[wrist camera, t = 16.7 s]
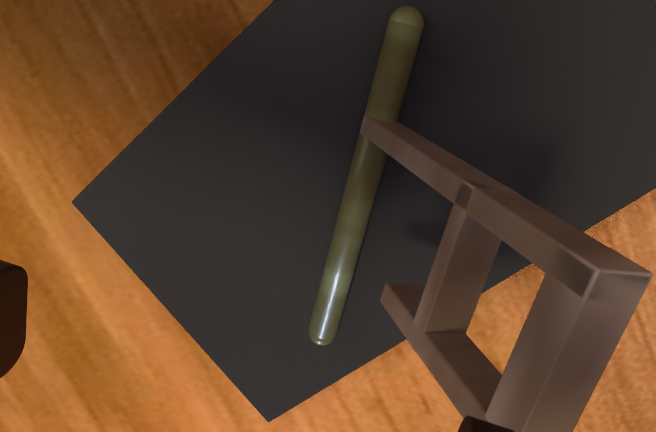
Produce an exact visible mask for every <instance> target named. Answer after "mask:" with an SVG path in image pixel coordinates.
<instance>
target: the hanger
mask: <svg viewBox="0 0 656 432" xmlns="http://www.w3.org/2000/svg"><path fill="white" fill-rule="evenodd" d="M423 27H424V20H423V16H422V14H421V12H420V11H419V10H418V9H417V8H415V7H413V6H409V5H406V6H401V7H399V8H397V9H396V10H395V11H394V12H393V13H392V14H391V16H390V19H389V22H388V26H387V29H386V33H385V37H384V41H383V45H382V49H381V52H380V56H379V60H378V64H377V68H376V72H375V75H374V79H373V83H372V87H371V91H370V95H369V98H368V102H367V106H366V110H365V114H364V118H363V121H362V125H361V129H360V133H359V137H358V141H357V144H356V148H355V152H354V156H353V160H352V164H351V167H350V171H349V175H348V179H347V183H346V187H345V190H344V194H343V198H342V202H341V206H340V209H339V213H338V217H337V221H336V225H335V229H334V232H333V236H332V240H331V244H330V248H329V252H328V255H327V259H326V263H325V267H324V271H323V275H322V278H321V282H320V286H319V290H318V294H317V298H316V301H315V305H314V309H313V313H312V317H311V321H310V324H309V329H308V333H309V337H310V339H311V340H312V341H313V342H314V343H315V344H317V345H327V344H329V343H331V342H332V341H333V340H334V338H335V336H336V333H337V330H338V326H339V323H340V319H341V316H342V312H343V309H344V305H345V302H346V298H347V295H348V291H349V288H350V284H351V281H352V277H353V274H354V270H355V267H356V263H357V260H358V256H359V253H360V249H361V246H362V242H363V239H364V235H365V231H366V228H367V224H368V221H369V217H370V214H371V210H372V207H373V203H374V200H375V196H376V193H377V189H378V186H379V182H380V179H381V175H382V172H383V168H384V165H385V161H386V158H387V154H389V155H390V156H391V157H393V158H394V159H395V160H396V161H398V162H399V163H400V164H402V165H403V166H404V167H406V168H407V169H408V170H410V171H411V172H412V173H414V174H415V175H416V176H418V177H419V178H420V179H422V180H423V181H424V182H426V183H427V184H428V185H430V186H431V187H432V188H434V189H435V190H436V191H438V192H439V193H440V194H442V195H443V196H444V197H446V198H447V199H448V200H449V201H451V202H452V203H453V207H452V210H451V213H450V216H449V219H448V222H447V225H446V228H445V231H444V234H443V237H442V239H441V242H440V245H439V248H438V251H437V254H436V257H435V260H434V263H433V266H432V269H431V272H430V274H429V277H428V280H427V283H426V286H425V287H424V286H423V285H412V284H394V283H386V284H385V286H384V289H383V293H382V296H381V299H380V301H381V303H382V305H383V306H384V307H385V309H386V310H387V312H388V313H389V314H390V316H391V317H392V319H393V320H394V321H395V323H396V324H397V326H398V327H399V328H400V330H401V331H402V333H403V334H404V336H405V337H406V338H407V340H408V342H409V343H410V345H411V346H412V348H413V349H414V350H415V352H416V353H417V354H418V355H419V357H420V358H421V359H422V361H423V362H424V364H425V365H426V366H427V368H428V369H429V371H430V372H431V374H432V375H433V376H434V378H435V379H436V381H437V382H438V383H439V385H440V386H441V388H442V389H443V390H444V392H445V393H446V395H447V396H448V397H449V399H450V400H451V402H452V403H453V405H454V406H455V407H456V409H457V410H458V412H459V413H460V414H461V416H462V417H463V419H464V418H465V417H466V416H468V415H469V416H472V417H475V418H478V419H481V420H484V421H487V422H490V423H493V424H496V425H499V426H502V427H505V428H508V429H511V430H514V432H573V430H574V428H575V426H576V424H577V422H578V420H579V418H580V416H581V414H582V412H583V410H584V408H585V406H586V404H587V403H588V401H589V399H590V397H591V395H592V393H593V391H594V389H595V387H596V385H597V383H598V381H599V379H600V377H601V375H602V373H603V371H604V369H605V367H606V365H607V363H608V362H609V360H610V358H611V356H612V354H613V352H614V350H615V348H616V346H617V344H618V342H619V340H620V338H621V336H622V334H623V332H624V330H625V328H626V326H627V324H628V322H629V320H630V319H631V317H632V315H633V313H634V311H635V309H636V307H637V305H638V303H639V301H640V299H641V297H642V295H643V293H644V291H645V289H646V287H647V285H648V283H649V281H650V279H651V278H652V276H653V274H652V273H651V272H650V271H648V270H646V269H645V268H643V267H641V266H640V265H638V264H636V263H635V262H633V261H631V260H630V259H628V258H626V257H624V256H623V255H621V254H619V253H618V252H616V251H614V250H613V249H611V248H609V247H607V246H605V245H603V244H602V243H600V242H598V241H597V240H595V239H593V238H592V237H590V236H588V235H587V234H585V233H583V232H582V231H580V230H578V229H577V228H575V227H573V226H572V225H570V224H568V223H567V222H565V221H563V220H562V219H560V218H558V217H557V216H555V215H553V214H552V213H550V212H548V211H547V210H545V209H543V208H541V207H540V206H538V205H536V204H535V203H533V202H531V201H530V200H528V199H526V198H525V197H523V196H521V195H520V194H518V193H517V192H515V191H514V190H512V189H510V188H509V187H507V186H505V185H503V184H501V183H500V182H498V181H496V180H495V179H493V178H491V177H490V176H488V175H486V174H485V173H483V172H481V171H479V170H478V169H476V168H474V167H473V166H471V165H469V164H468V163H466V162H464V161H463V160H461V159H459V158H458V157H456V156H454V155H453V154H451V153H449V152H448V151H446V150H444V149H443V148H441V147H439V146H438V145H436V144H434V143H433V142H431V141H429V140H428V139H426V138H424V137H423V136H421V135H419V134H417V133H416V132H414V131H412V130H411V129H409V128H407V127H406V126H404V125H402V124H401V123H399V122H397V119H398V115H399V112H400V108H401V105H402V101H403V98H404V94H405V91H406V87H407V84H408V80H409V77H410V73H411V70H412V66H413V63H414V59H415V56H416V52H417V49H418V45H419V42H420V38H421V35H422V31H423ZM501 241H504V242H505V243H506V244H508V245H509V246H510V247H512V248H513V249H514V250H516V251H517V252H518V253H520V254H521V255H522V256H524V257H525V258H526V259H528V260H529V261H530V262H532V263H533V264H534V265H536V266H537V267H538V268H540V269H541V270H542V271H544V272H545V273H546V275H545V277H544V279H543V281H542V284H541V286H540V288H539V291H538V293H537V295H536V298H535V300H534V302H533V305H532V307H531V309H530V312H529V314H528V316H527V319H526V321H525V323H524V326H523V328H522V330H521V333H520V335H519V337H518V340H517V342H516V344H515V347H514V349H513V351H512V354H511V356H510V358H509V360H508V363H507V365H506V367H505V370H504V372H503V374H501V373H500V372H499V371H498V370H497V369H496V368H495V367H494V365H493V364H492V363H491V362H490V361H489V360H488V359H487V357H486V356H485V355H484V354H483V353H482V352H481V351H480V350H479V348H478V347H477V346H476V345H475V344H474V343H473V342H472V340H471V339H470V338H469V337H468V336H467V335H466V331H467V329H468V326H469V324H470V321H471V318H472V316H473V313H474V311H475V308H476V305H477V303H478V300H479V298H480V295H481V292H482V290H483V287H484V285H485V282H486V280H487V277H488V274H489V272H490V269H491V267H492V264H493V261H494V259H495V256H496V254H497V251H498V249H499V246H500V243H501Z"/></svg>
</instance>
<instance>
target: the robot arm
mask: <svg viewBox="0 0 656 432" xmlns="http://www.w3.org/2000/svg"><path fill="white" fill-rule="evenodd" d="M27 288H28V277H27V273H26V271H25V270H24V269H23V268H22V267H20V266H17V265H14V264H11V263H8V262H5V261H2V260H0V378H1V377H2V376H4V375H5V374H6V373H7V372H8V371H9V370H10V369H11V368H12V367H13V366H14V365H15V363H16V362H17V360H18V359H19V357H20V355H21V353H22V351H23V348H24V344H25V338H26V314H27ZM458 432H514V430H511V429H508V428H505V427H502V426H499V425H496V424H493V423H490V422H487V421H484V420H481V419H478V418H475V417H472V416H469V415H468V416H466V417H465V418H464V420H463V421H462V423H461V425H460V428H459V430H458Z"/></svg>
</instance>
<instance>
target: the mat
mask: <svg viewBox="0 0 656 432" xmlns="http://www.w3.org/2000/svg"><path fill="white" fill-rule="evenodd" d="M406 5H409V6H413V7H415V8H417V9H418V10H419V11H420V12H421V14H422V16H423V20H424V27H423V31H422V35H421V38H420V42H419V45H418V49H417V52H416V56H415V59H414V63H413V66H412V70H411V73H410V77H409V80H408V84H407V87H406V91H405V94H404V98H403V101H402V105H401V108H400V112H399V115H398V119H397V122H399V123H401V124H402V125H404V126H406V127H407V128H409V129H411V130H412V131H414V132H416V133H417V134H419V135H421V136H423V137H424V138H426V139H428V140H429V141H431V142H433V143H434V144H436V145H438V146H439V147H441V148H443V149H444V150H446V151H448V152H449V153H451V154H453V155H454V156H456V157H458V158H459V159H461V160H463V161H464V162H466V163H468V164H469V165H471V166H473V167H474V168H476V169H478V170H479V171H481V172H483V173H485V174H486V175H488V176H490V177H491V178H493V179H495V180H496V181H498V182H500V183H501V184H503V185H505V186H507V187H509V188H510V189H512V190H514V191H515V192H517V193H518V194H520V195H521V196H523V197H525V198H526V199H528V200H530V201H531V202H533V203H535V204H536V205H538V206H540V207H541V208H543V209H545V210H547V211H548V212H550V213H552V214H553V215H555V216H557V217H558V218H560V219H562V220H563V221H565V222H567V223H568V224H570V225H572V226H573V227H575V228H577V229H578V230H580V231H582V232H584V231H585V230H587V229H589V228H590V227H592V226H594V225H595V224H597V223H599V222H600V221H602V220H604V219H605V218H607V217H608V216H610V215H612V214H613V213H615V212H617V211H618V210H620V209H622V208H623V207H625V206H627V205H628V204H630V203H632V202H633V201H635V200H637V199H638V198H640V197H641V196H643V195H645V194H646V193H648V192H650V191H651V190H653V189H655V188H656V2H655V0H274V1H273V2H272V3H271V4H270V5H269V6H268V7H267V8H266V9H265V10H264V11H263V12H262V13H261V14H260V15H259V16H258V17H257V18H256V19H255V20H254V21H253V22H252V23H251V24H250V25H249V26H248V27H247V28H246V29H245V30H244V31H243V32H242V33H241V34H240V35H239V36H238V37H237V38H236V39H235V40H234V41H233V42H232V43H231V44H230V45H229V46H228V47H227V48H226V49H225V50H224V51H223V52H222V53H221V54H220V55H219V56H218V57H217V58H216V59H215V60H214V61H213V62H212V63H211V64H210V65H209V66H208V67H207V68H206V69H205V70H204V71H203V72H202V73H201V74H200V75H199V76H198V77H197V78H196V79H195V80H194V81H193V82H192V83H190V84H189V85H188V86H187V87H186V88H185V89H184V90H183V91H182V92H181V93H180V94H179V95H178V96H177V97H176V98H175V99H174V100H173V101H172V102H171V103H170V104H169V105H168V106H167V107H166V108H165V109H164V110H163V111H162V112H161V113H160V114H159V115H158V116H157V117H156V118H155V119H154V120H153V121H152V122H151V123H150V124H149V125H148V126H147V127H146V128H145V129H144V130H143V131H142V132H141V133H140V134H139V135H138V136H137V137H136V138H135V139H134V140H133V141H132V142H131V143H130V144H129V145H128V146H127V147H126V148H125V149H124V150H123V151H122V152H121V153H120V154H119V155H118V156H117V157H116V158H115V159H114V160H113V161H112V162H111V163H110V164H109V165H108V166H107V167H106V168H105V169H104V170H103V171H102V172H101V173H100V174H99V175H98V176H97V177H96V178H95V179H94V180H93V181H92V182H91V183H90V184H89V185H88V186H87V187H86V188H85V189H84V190H83V191H82V192H81V193H80V194H79V195H78V196H77V197H76V198H75V199H74V200H73V201H72V203H73V204H74V206H75V207H76V208H77V209H78V210H79V211H80V212H81V213H82V214H83V216H84V217H85V218H86V219H87V220H88V221H89V222H90V223H91V225H92V226H93V227H94V228H95V229H96V230H97V231H98V232H99V233H100V235H101V236H102V237H103V238H104V239H105V240H106V241H107V242H108V244H109V245H110V246H111V247H112V248H113V249H114V250H115V251H116V253H117V254H118V255H119V256H120V257H121V258H122V259H123V260H124V261H125V263H126V264H127V265H128V266H129V267H130V268H131V269H132V270H133V272H134V273H135V274H136V275H137V276H138V277H139V278H140V279H141V280H142V282H143V283H144V284H145V285H146V286H147V287H148V288H149V289H150V291H151V292H152V293H153V294H154V295H155V296H156V297H157V298H158V299H159V301H160V302H161V303H162V304H163V305H164V306H165V307H166V308H167V310H168V311H169V312H170V313H171V314H172V315H173V316H174V317H175V319H176V320H177V321H178V322H179V323H180V324H181V325H182V326H183V327H184V329H185V330H186V331H187V332H188V333H189V334H190V335H191V336H192V338H193V339H194V340H195V341H196V342H197V343H198V344H199V345H200V346H201V348H202V349H203V350H204V351H205V352H206V353H207V354H208V355H209V357H210V358H211V359H212V360H213V361H214V362H215V363H216V364H217V365H218V367H219V368H220V369H221V370H222V371H223V372H224V373H225V374H226V376H227V377H228V378H229V379H230V380H231V381H232V382H233V383H234V385H235V386H236V387H237V388H238V389H239V390H240V391H241V392H242V393H243V395H244V396H245V397H246V398H247V399H248V400H249V401H250V402H251V404H252V405H253V406H254V407H255V408H256V409H257V410H258V411H259V412H260V414H261V415H262V416H263V417H264V418H265V419H266V420H267V421H268V422H270V421H272V420H273V419H275V418H277V417H278V416H280V415H282V414H283V413H285V412H287V411H288V410H290V409H292V408H293V407H295V406H297V405H298V404H300V403H301V402H303V401H305V400H306V399H308V398H310V397H311V396H313V395H315V394H316V393H318V392H320V391H321V390H323V389H325V388H326V387H328V386H330V385H331V384H333V383H334V382H336V381H338V380H339V379H341V378H343V377H344V376H346V375H348V374H349V373H351V372H353V371H354V370H356V369H358V368H359V367H361V366H363V365H364V364H366V363H368V362H369V361H371V360H372V359H374V358H376V357H377V356H379V355H381V354H382V353H384V352H386V351H387V350H389V349H391V348H392V347H394V346H396V345H397V344H399V343H401V342H402V341H404V340H405V339H407V338H406V337H405V336H404V334H403V333H402V331H401V330H400V328H399V327H398V326H397V324H396V323H395V321H394V320H393V319H392V317H391V316H390V314H389V313H388V312H387V310H386V309H385V307H384V306H383V305H382V303H381V301H380V299H381V296H382V293H383V289H384V286H385V284H386V283H394V284H412V285H423V286H424V287H425V286H426V283H427V280H428V277H429V274H430V272H431V269H432V266H433V263H434V260H435V257H436V254H437V251H438V248H439V245H440V242H441V239H442V237H443V234H444V231H445V228H446V225H447V222H448V219H449V216H450V213H451V210H452V207H453V203H452V202H451V201H449V200H448V199H447V198H446V197H444V196H443V195H442V194H440V193H439V192H438V191H436V190H435V189H434V188H432V187H431V186H430V185H428V184H427V183H426V182H424V181H423V180H422V179H420V178H419V177H418V176H416V175H415V174H414V173H412V172H411V171H410V170H408V169H407V168H406V167H404V166H403V165H402V164H400V163H399V162H398V161H396V160H395V159H394V158H393V157H391V156H390V155H389V154H387V158H386V161H385V165H384V168H383V172H382V175H381V179H380V182H379V186H378V189H377V193H376V196H375V200H374V203H373V207H372V210H371V214H370V217H369V221H368V224H367V228H366V231H365V235H364V239H363V242H362V246H361V249H360V253H359V256H358V260H357V263H356V267H355V270H354V274H353V277H352V281H351V284H350V288H349V291H348V295H347V298H346V302H345V305H344V309H343V312H342V316H341V319H340V323H339V326H338V330H337V333H336V336H335V338H334V340H333V341H332V342H331V343H329V344H327V345H317V344H315V343H314V342H313V341H312V340H311V339H310V337H309V333H308V329H309V324H310V321H311V317H312V313H313V309H314V305H315V301H316V298H317V294H318V290H319V286H320V282H321V278H322V275H323V271H324V267H325V263H326V259H327V255H328V252H329V248H330V244H331V240H332V236H333V232H334V229H335V225H336V221H337V217H338V213H339V209H340V206H341V202H342V198H343V194H344V190H345V187H346V183H347V179H348V175H349V171H350V167H351V164H352V160H353V156H354V152H355V148H356V144H357V141H358V137H359V133H360V129H361V125H362V121H363V118H364V114H365V110H366V106H367V102H368V98H369V95H370V91H371V87H372V83H373V79H374V75H375V72H376V68H377V64H378V60H379V56H380V52H381V49H382V45H383V41H384V37H385V33H386V29H387V26H388V22H389V19H390V16H391V14H392V13H393V12H394V11H395V10H396V9H397V8H399V7H401V6H406ZM531 263H532V262H530V261H529V260H528V259H526V258H525V257H524V256H522V255H521V254H520V253H518V252H517V251H516V250H514V249H513V248H512V247H510V246H509V245H508V244H506V243H505V242H504V241H501V243H500V246H499V249H498V251H497V254H496V256H495V259H494V261H493V264H492V267H491V269H490V272H489V274H488V277H487V280H486V282H485V285H484V287H483V290H482V292H481V293H483V292H485V291H486V290H488V289H490V288H491V287H493V286H495V285H496V284H498V283H500V282H501V281H503V280H504V279H506V278H508V277H509V276H511V275H513V274H514V273H516V272H518V271H519V270H521V269H523V268H524V267H526V266H528V265H529V264H531Z"/></svg>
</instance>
